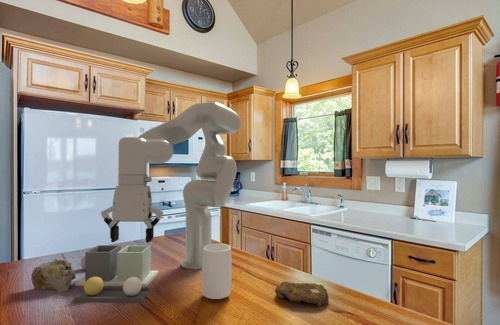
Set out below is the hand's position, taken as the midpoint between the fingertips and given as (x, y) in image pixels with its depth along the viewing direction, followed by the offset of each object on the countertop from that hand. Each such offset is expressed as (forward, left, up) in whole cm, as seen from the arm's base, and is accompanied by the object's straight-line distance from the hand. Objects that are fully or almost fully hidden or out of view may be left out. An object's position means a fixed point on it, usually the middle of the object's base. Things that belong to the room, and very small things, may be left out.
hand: (131, 241), depth 83 cm
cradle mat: (+5, 0, -16) cm, 17 cm away
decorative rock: (-48, 0, -16) cm, 51 cm away
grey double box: (+9, -12, -16) cm, 22 cm away
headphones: (+20, -27, -16) cm, 38 cm away
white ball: (0, 0, -15) cm, 15 cm away
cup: (-24, -1, -16) cm, 29 cm away
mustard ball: (+11, 0, -15) cm, 19 cm away
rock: (+26, -6, -16) cm, 31 cm away
